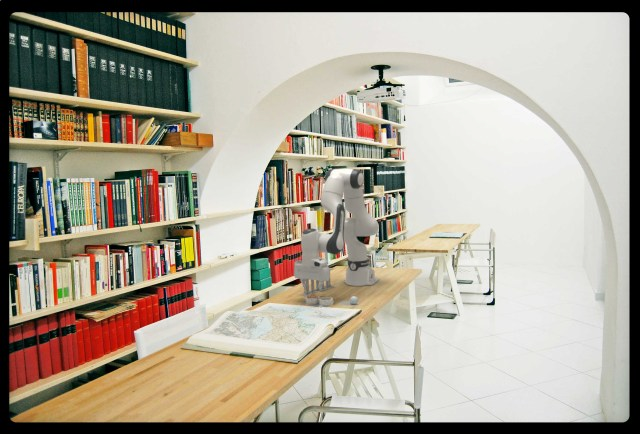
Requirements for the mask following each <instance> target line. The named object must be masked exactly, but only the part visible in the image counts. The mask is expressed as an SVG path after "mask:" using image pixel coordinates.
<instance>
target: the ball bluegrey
mask: <svg viewBox="0 0 640 434" xmlns="http://www.w3.org/2000/svg"><path fill="white" fill-rule="evenodd" d="M358 300H359V299H358V297H357V296H355V295H352V296H350V297H349V302H350V303H351V304H356V303H359V301H358Z"/></svg>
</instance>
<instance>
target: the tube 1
mask: <svg viewBox="0 0 640 434" xmlns="http://www.w3.org/2000/svg"><path fill="white" fill-rule="evenodd" d="M315 295H316V296H317V298H312V299H311V298H309V297H310V295H308V296H305V302H306V303H308V304H316V303H319V298H321V297H320V296H319V295H317V294H315Z"/></svg>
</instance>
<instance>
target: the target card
mask: <svg viewBox="0 0 640 434" xmlns="http://www.w3.org/2000/svg"><path fill="white" fill-rule="evenodd" d="M335 304H336V302H333V304H332V305H335ZM299 305H301V306H302V305H303V306H309V307H315V308H322V307H326V308H328V307H331V305H328V306H323V305H320V304H319V303H316V304H308V303H306V301H304V302H302V303H300V304H299Z"/></svg>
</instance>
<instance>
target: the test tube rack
mask: <svg viewBox="0 0 640 434" xmlns="http://www.w3.org/2000/svg"><path fill="white" fill-rule="evenodd" d="M327 266H328V267H329V264H328V265H327ZM329 270H330V271H332V270H335V269H334V267H333V268H332V267H329ZM304 281H305V283H307V287H303V293H301V294H299V295H300V296H304V297H307V296H310V295H312V294H317V293H319V292H321V293H322V292H325V291H327V290H330V289H333V288H335V285H332V284H331V278H330V279H329V280H328V281H325V282H324V283H323V285H322V289H318V285H320V283H319V281H318V280H309V279H305V280H304Z"/></svg>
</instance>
